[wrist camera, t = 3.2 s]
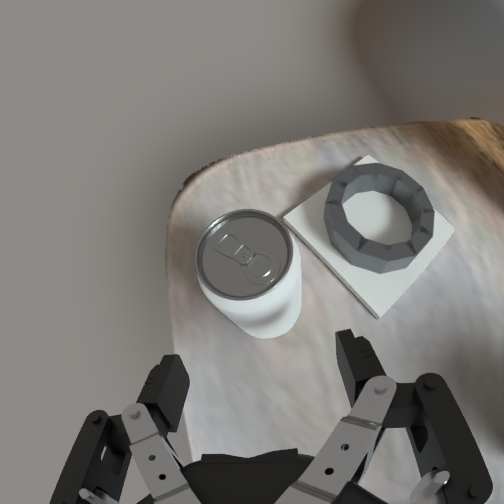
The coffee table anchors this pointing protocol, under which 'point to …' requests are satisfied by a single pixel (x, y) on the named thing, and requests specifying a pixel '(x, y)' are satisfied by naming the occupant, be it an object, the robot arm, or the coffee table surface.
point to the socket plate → (370, 227)
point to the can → (251, 271)
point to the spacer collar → (367, 250)
